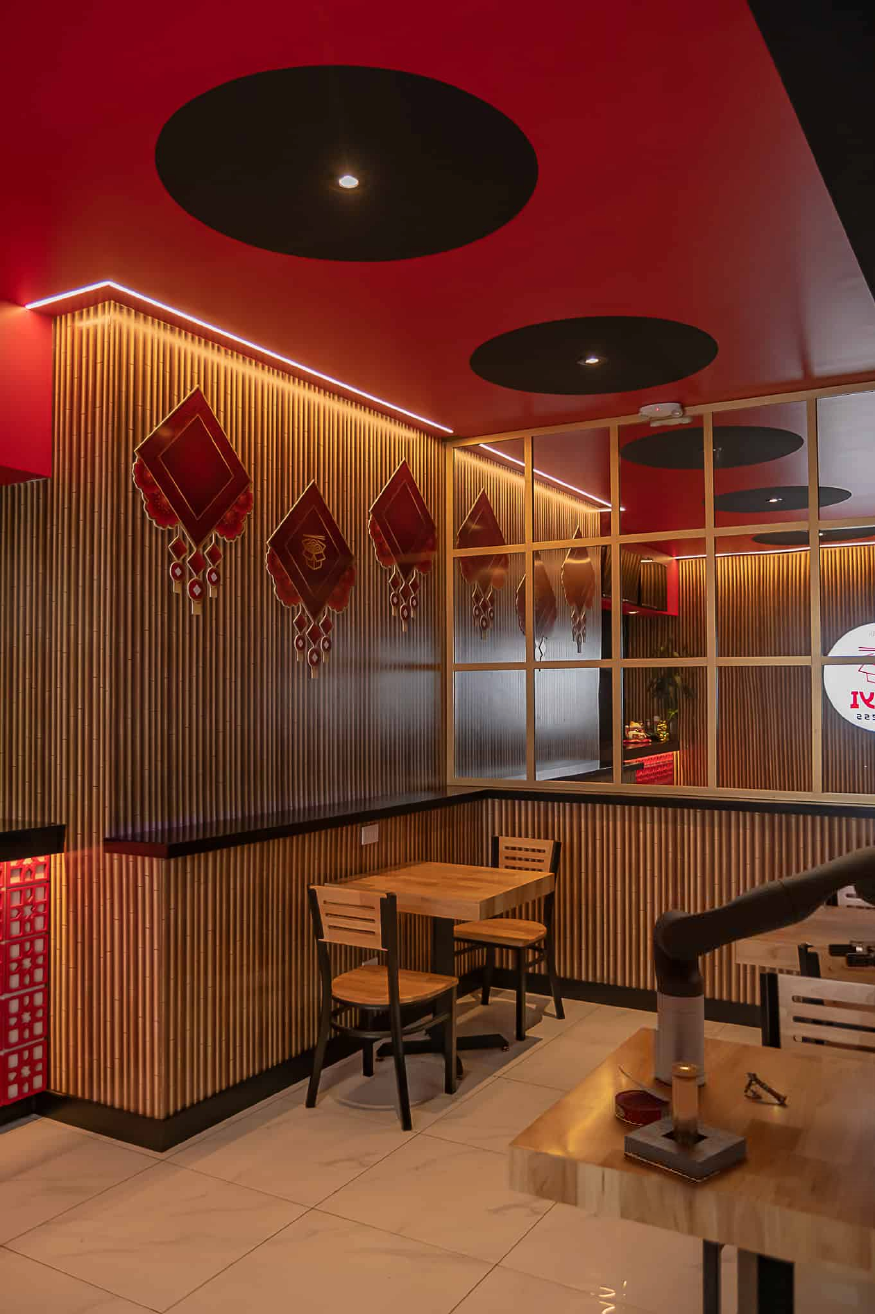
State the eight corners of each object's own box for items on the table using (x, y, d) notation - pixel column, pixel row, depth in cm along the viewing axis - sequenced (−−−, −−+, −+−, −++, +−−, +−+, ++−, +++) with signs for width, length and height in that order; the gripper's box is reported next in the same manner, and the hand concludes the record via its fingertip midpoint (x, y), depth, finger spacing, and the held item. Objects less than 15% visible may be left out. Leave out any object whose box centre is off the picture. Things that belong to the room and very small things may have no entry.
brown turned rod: (742, 1087, 187) (750, 1067, 186) (779, 1114, 181) (788, 1094, 181) (738, 1090, 186) (746, 1070, 185) (775, 1117, 180) (784, 1097, 179)
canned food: (623, 1133, 178) (624, 1075, 183) (677, 1137, 173) (677, 1078, 179) (603, 1121, 170) (605, 1062, 175) (659, 1125, 165) (660, 1064, 171)
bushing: (664, 1155, 157) (663, 1066, 158) (681, 1147, 160) (680, 1060, 162) (690, 1165, 153) (689, 1074, 155) (707, 1156, 157) (706, 1067, 158)
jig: (624, 1154, 157) (624, 1135, 157) (672, 1132, 166) (672, 1114, 167) (699, 1182, 147) (699, 1162, 147) (746, 1157, 156) (745, 1138, 157)
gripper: (912, 927, 177) (822, 926, 178) (948, 942, 163) (851, 941, 164) (913, 969, 177) (824, 967, 178) (950, 988, 162) (853, 986, 163)
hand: (837, 955), depth 171 cm, fingers open, 8 cm apart
